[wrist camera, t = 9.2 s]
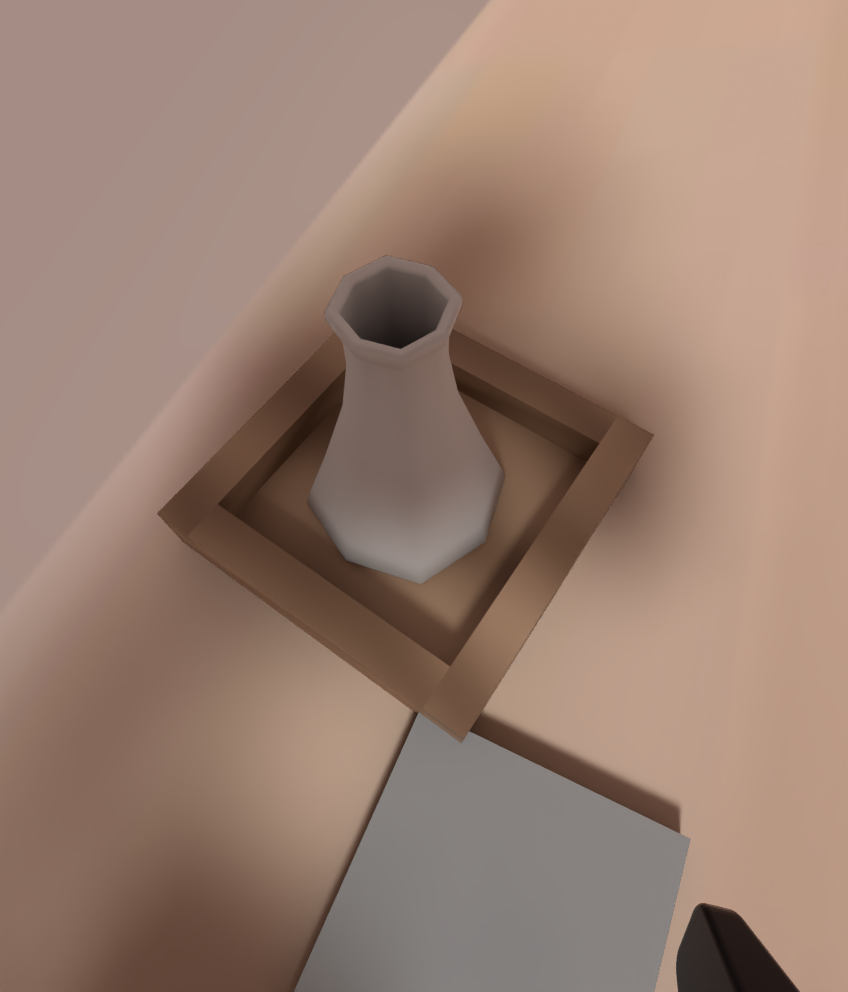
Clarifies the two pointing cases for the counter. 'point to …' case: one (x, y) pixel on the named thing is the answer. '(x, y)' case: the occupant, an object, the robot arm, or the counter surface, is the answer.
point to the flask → (402, 429)
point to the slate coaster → (497, 882)
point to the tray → (456, 589)
